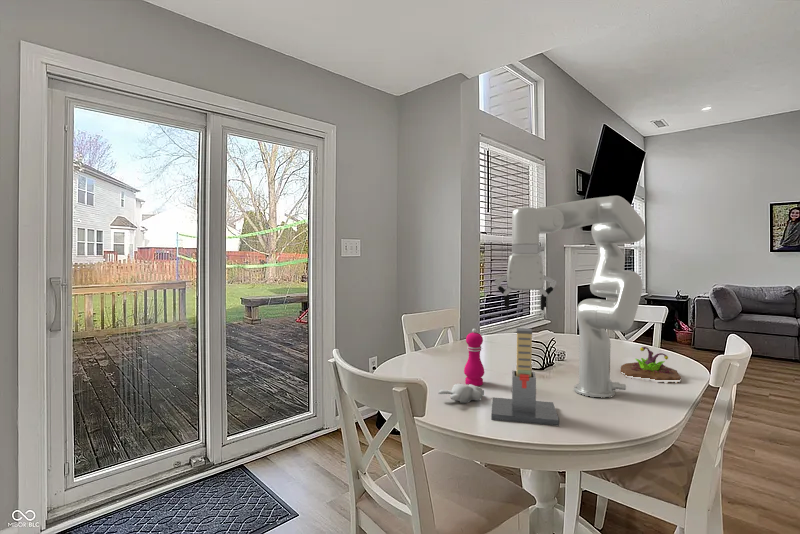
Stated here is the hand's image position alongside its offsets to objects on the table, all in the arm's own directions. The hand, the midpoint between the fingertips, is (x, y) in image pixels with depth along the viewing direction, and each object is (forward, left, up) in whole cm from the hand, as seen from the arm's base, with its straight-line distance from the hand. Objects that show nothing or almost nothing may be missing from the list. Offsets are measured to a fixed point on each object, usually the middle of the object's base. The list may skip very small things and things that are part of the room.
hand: (524, 309), depth 123 cm
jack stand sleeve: (0, 0, -31) cm, 31 cm away
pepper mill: (+16, -25, -31) cm, 43 cm away
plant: (-49, -52, -31) cm, 78 cm away
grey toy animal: (+18, -6, -31) cm, 37 cm away
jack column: (0, 0, -23) cm, 23 cm away
